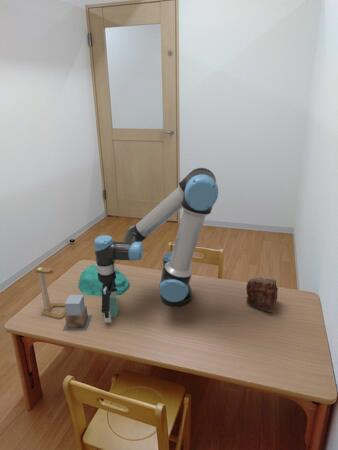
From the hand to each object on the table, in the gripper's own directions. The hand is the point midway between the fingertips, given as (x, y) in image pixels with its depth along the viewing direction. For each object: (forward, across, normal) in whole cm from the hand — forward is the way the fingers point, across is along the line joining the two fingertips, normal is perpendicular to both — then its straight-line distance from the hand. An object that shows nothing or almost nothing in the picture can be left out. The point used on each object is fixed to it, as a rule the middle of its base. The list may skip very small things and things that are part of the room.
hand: (111, 312), depth 149 cm
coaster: (0, +7, -13) cm, 15 cm away
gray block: (-6, +7, -13) cm, 16 cm away
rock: (0, -4, +67) cm, 67 cm away
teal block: (0, 0, 0) cm, 0 cm away
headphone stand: (0, -1, -25) cm, 25 cm away
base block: (0, +7, -13) cm, 15 cm away
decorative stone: (+1, -22, -8) cm, 24 cm away
